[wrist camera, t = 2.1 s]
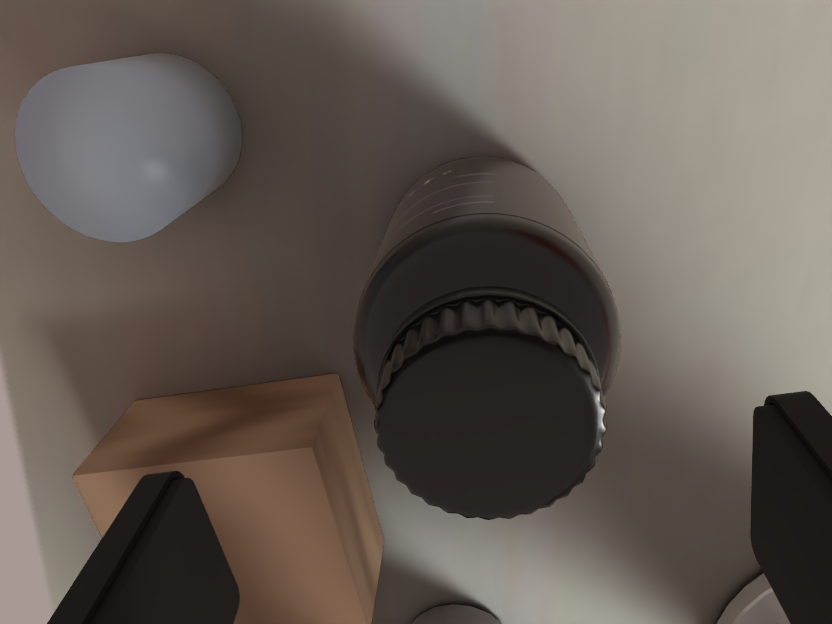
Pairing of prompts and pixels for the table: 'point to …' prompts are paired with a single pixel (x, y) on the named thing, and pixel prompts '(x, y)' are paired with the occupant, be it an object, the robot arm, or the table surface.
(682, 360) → the table surface
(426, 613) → the flask
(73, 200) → the grey rounded pebble
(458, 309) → the supplement bottle
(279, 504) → the walnut block
